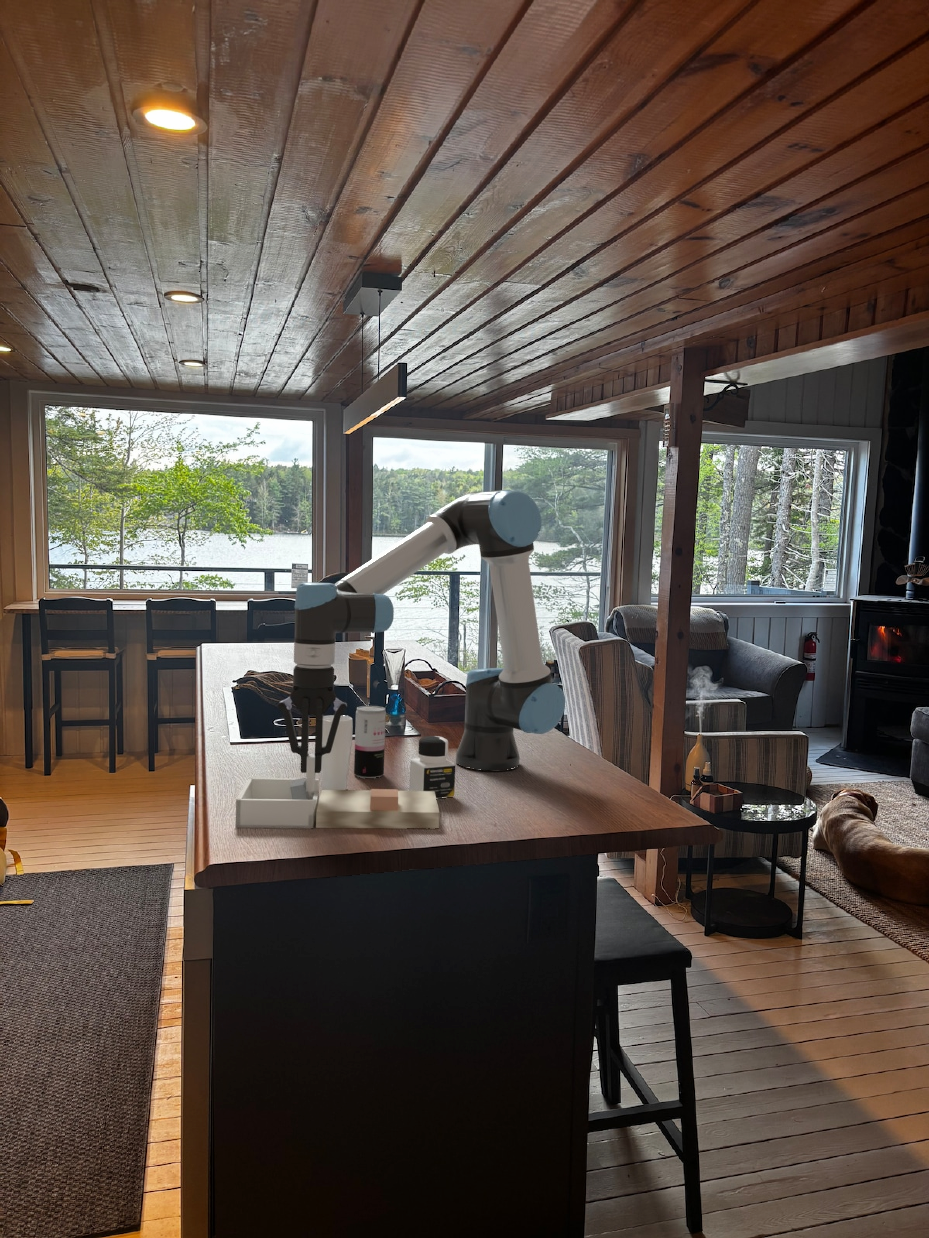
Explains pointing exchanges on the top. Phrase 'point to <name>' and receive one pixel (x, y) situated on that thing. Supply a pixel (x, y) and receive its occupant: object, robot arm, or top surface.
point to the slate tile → (299, 789)
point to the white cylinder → (336, 754)
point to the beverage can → (369, 741)
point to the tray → (274, 805)
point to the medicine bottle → (433, 768)
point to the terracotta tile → (384, 799)
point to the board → (356, 812)
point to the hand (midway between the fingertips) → (310, 789)
